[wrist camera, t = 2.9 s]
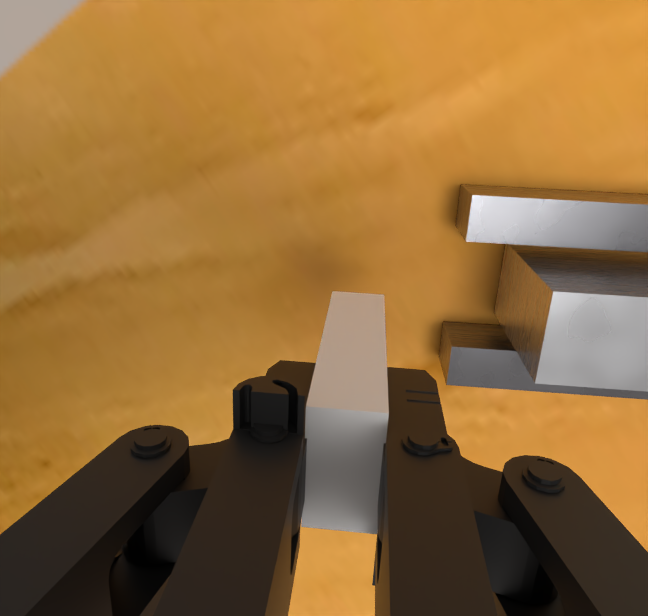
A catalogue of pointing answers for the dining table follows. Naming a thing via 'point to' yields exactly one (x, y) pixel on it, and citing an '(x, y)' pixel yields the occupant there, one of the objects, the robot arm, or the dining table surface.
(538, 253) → the grey metal block
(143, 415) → the dining table surface
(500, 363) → the guide
